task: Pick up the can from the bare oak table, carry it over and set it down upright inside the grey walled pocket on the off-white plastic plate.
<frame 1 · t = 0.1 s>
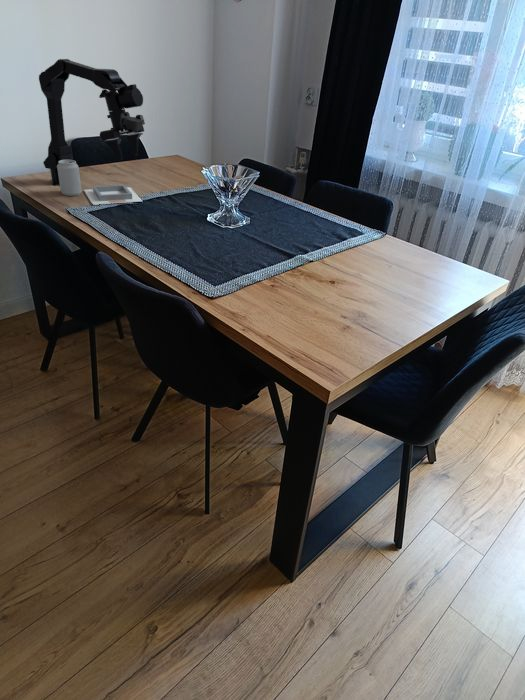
hand: (129, 157, 181), 15 cm above the table, tool pointing down, fingers open, 9 cm apart
can: (71, 194, 189), on the table
collar plate: (112, 196, 190), on the table
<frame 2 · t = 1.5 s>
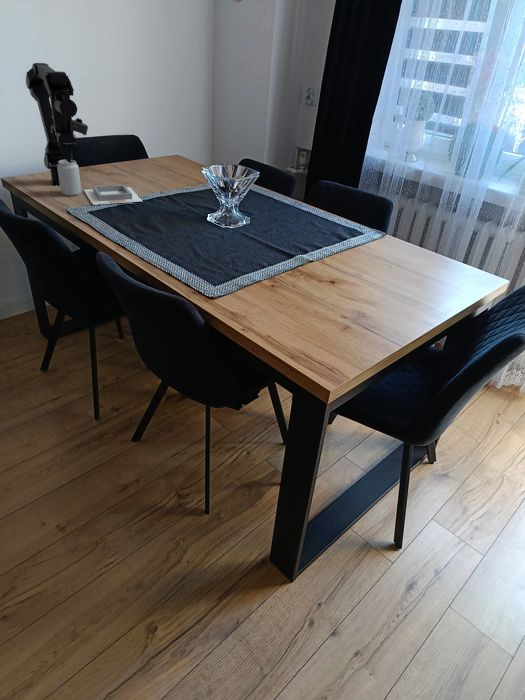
hand: (66, 158, 182), 13 cm above the table, tool pointing down, fingers open, 9 cm apart
nothing on the table moved.
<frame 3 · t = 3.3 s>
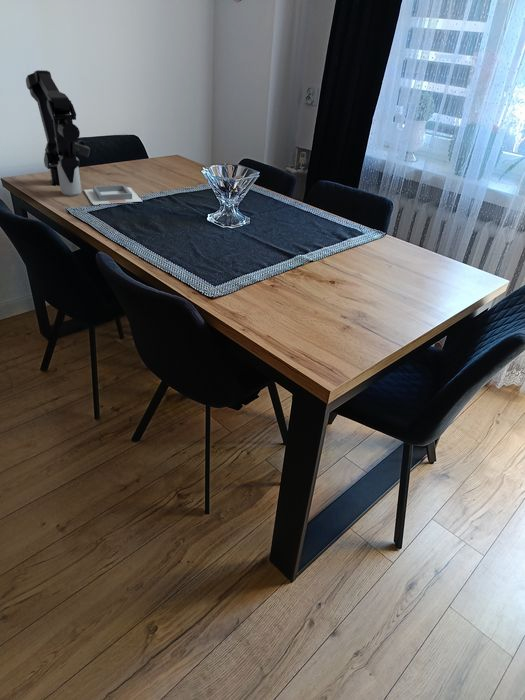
hand: (69, 179, 186), 5 cm above the table, tool pointing down, fingers closed on can, 7 cm apart
can: (71, 194, 189), on the table, touching gripper
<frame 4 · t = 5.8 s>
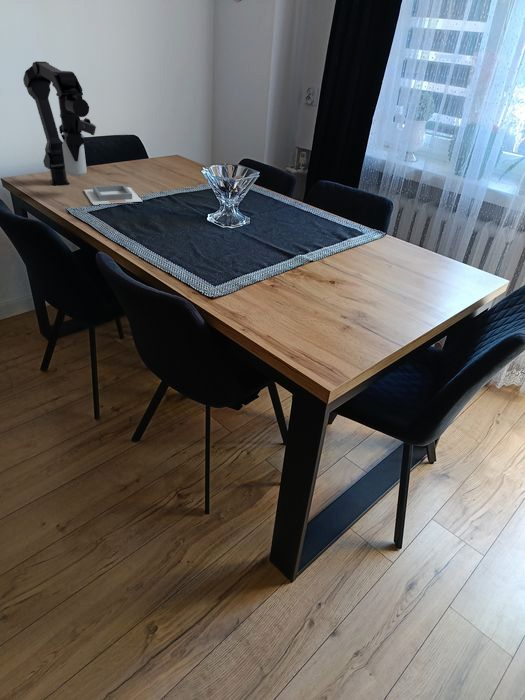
hand: (74, 158, 182), 13 cm above the table, tool pointing down, fingers closed on can, 7 cm apart
can: (76, 174, 185), point 7 cm above the table, touching gripper
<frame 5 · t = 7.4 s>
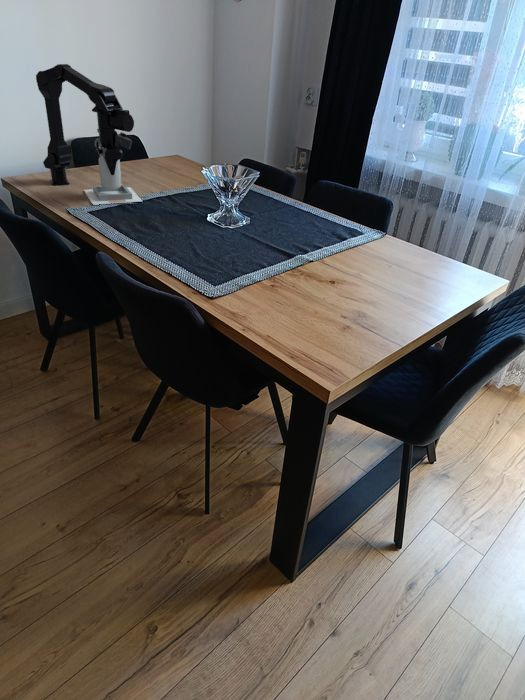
hand: (110, 172, 185), 9 cm above the table, tool pointing down, fingers closed on can, 7 cm apart
can: (111, 187, 188), point 3 cm above the table, touching gripper
when the fingers open (7 cm above the table, at t = 8.7 s): can stays where it is, resting on collar plate.
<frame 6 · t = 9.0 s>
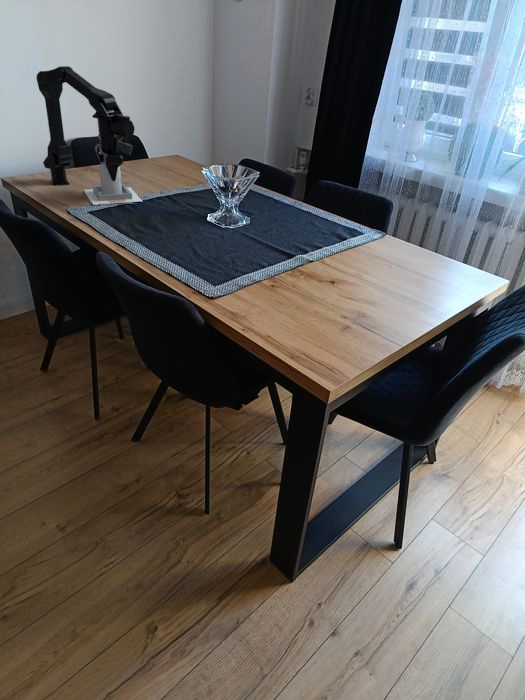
hand: (111, 177, 186), 7 cm above the table, tool pointing down, fingers open, 9 cm apart
can: (112, 195, 190), resting on collar plate
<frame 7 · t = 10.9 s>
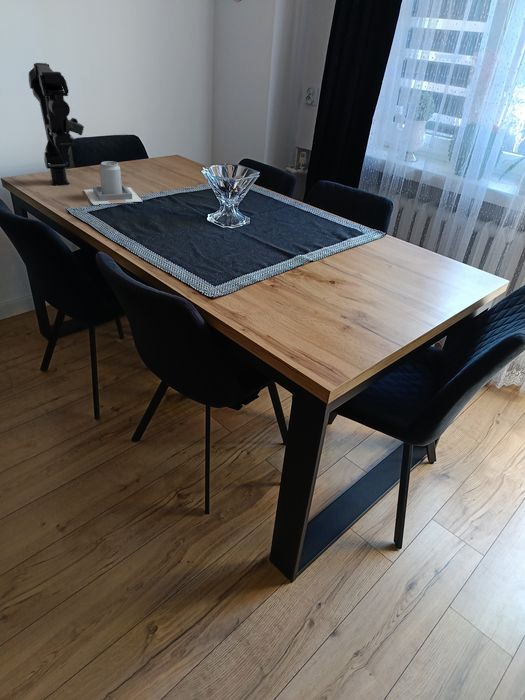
hand: (62, 158, 182), 13 cm above the table, tool pointing down, fingers open, 9 cm apart
nothing on the table moved.
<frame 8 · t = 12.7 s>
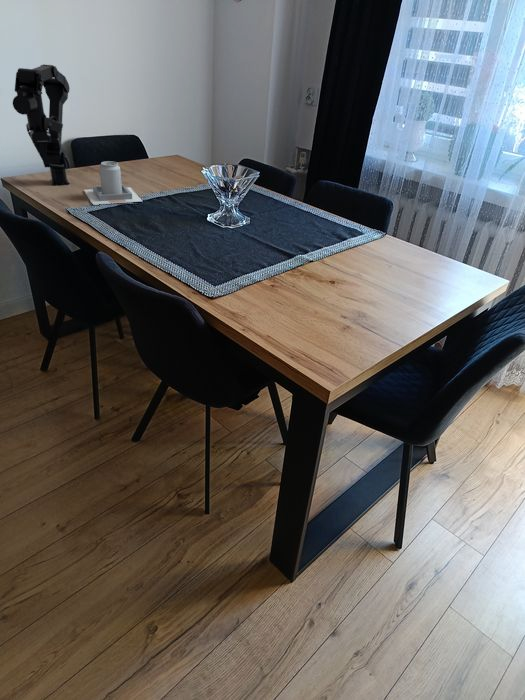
hand: (42, 156, 181), 13 cm above the table, tool pointing down, fingers open, 9 cm apart
nothing on the table moved.
at the end: can 0.1 cm off-centre on the collar plate, point 0.4 cm above the collar plate's base; can tilted 0°; the gripper is holding nothing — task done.
